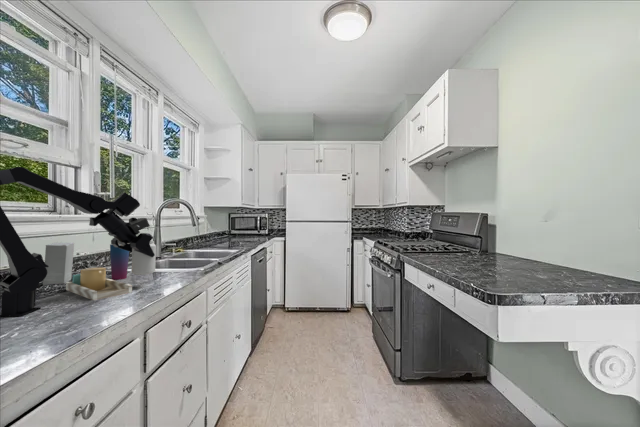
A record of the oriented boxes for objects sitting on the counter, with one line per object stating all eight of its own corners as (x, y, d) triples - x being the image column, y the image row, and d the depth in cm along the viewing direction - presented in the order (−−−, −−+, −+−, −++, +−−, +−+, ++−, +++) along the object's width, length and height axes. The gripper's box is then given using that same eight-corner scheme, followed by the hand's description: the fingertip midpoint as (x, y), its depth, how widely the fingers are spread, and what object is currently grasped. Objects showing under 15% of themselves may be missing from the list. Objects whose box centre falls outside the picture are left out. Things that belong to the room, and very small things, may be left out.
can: (159, 272, 109) (160, 240, 109) (145, 276, 101) (146, 242, 102) (141, 271, 110) (142, 240, 110) (126, 275, 102) (127, 241, 102)
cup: (104, 281, 116) (105, 244, 116) (120, 278, 123) (121, 243, 123) (117, 282, 114) (118, 245, 114) (133, 279, 121) (133, 243, 121)
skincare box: (51, 282, 113) (52, 242, 113) (74, 281, 116) (75, 241, 116) (41, 287, 105) (42, 244, 105) (66, 285, 108) (67, 243, 108)
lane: (131, 294, 97) (132, 285, 97) (93, 302, 88) (93, 292, 88) (102, 285, 109) (103, 277, 109) (65, 292, 99) (66, 282, 99)
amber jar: (97, 291, 98) (98, 271, 98) (74, 291, 97) (75, 271, 97) (109, 286, 105) (110, 267, 105) (88, 286, 104) (89, 267, 104)
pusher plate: (101, 284, 106) (102, 271, 106) (73, 289, 99) (73, 275, 99) (100, 284, 107) (101, 271, 107) (72, 288, 100) (72, 275, 100)
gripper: (148, 210, 98) (177, 240, 107) (121, 210, 108) (150, 238, 117) (121, 233, 91) (155, 264, 100) (95, 231, 101) (129, 259, 110)
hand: (148, 255), depth 107 cm, fingers closed on can, 7 cm apart
